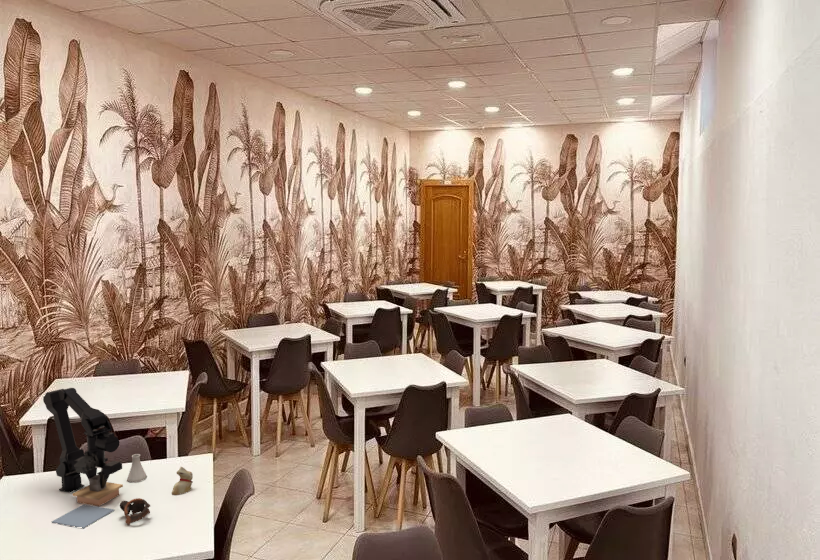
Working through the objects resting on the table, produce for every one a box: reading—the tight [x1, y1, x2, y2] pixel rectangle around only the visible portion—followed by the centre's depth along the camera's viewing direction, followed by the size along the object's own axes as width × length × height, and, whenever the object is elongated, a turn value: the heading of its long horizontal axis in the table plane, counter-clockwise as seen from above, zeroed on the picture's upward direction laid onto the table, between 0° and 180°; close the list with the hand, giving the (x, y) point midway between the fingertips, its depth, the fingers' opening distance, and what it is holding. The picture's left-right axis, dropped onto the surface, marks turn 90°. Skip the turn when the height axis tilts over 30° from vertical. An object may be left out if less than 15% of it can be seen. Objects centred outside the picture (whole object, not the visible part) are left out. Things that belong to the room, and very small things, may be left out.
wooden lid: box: [71, 474, 124, 500], centre depth 234 cm, size 12×12×5 cm
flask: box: [126, 453, 148, 483], centre depth 251 cm, size 7×7×10 cm
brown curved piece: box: [119, 497, 151, 526], centre depth 218 cm, size 12×10×8 cm
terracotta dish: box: [76, 488, 120, 507], centre depth 234 cm, size 10×10×3 cm
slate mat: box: [51, 503, 115, 529], centre depth 220 cm, size 14×14×1 cm
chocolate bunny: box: [171, 466, 194, 496], centre depth 240 cm, size 6×8×10 cm
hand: (97, 487), depth 234 cm, fingers open, 4 cm apart
